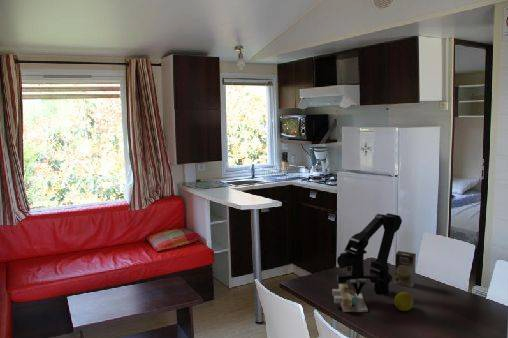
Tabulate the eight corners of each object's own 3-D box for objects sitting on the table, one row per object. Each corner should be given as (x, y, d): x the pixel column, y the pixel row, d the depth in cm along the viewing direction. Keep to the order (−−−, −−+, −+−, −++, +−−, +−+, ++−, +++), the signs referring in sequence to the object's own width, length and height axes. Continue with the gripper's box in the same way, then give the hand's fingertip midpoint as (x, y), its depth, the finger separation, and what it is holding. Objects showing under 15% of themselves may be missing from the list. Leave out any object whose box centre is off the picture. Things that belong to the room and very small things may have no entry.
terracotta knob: (352, 295, 215) (352, 286, 214) (354, 299, 211) (354, 289, 210) (332, 295, 216) (332, 285, 215) (333, 298, 211) (333, 289, 211)
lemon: (404, 316, 195) (405, 298, 194) (389, 310, 201) (389, 293, 200) (418, 309, 202) (418, 292, 201) (403, 303, 208) (403, 287, 207)
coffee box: (394, 284, 231) (394, 253, 229) (397, 280, 236) (398, 250, 234) (412, 287, 226) (413, 256, 224) (415, 283, 231) (416, 253, 229)
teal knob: (355, 302, 207) (355, 292, 206) (356, 306, 203) (356, 296, 202) (333, 302, 208) (333, 292, 207) (334, 306, 203) (334, 296, 203)
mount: (361, 295, 217) (361, 284, 217) (367, 311, 200) (367, 299, 199) (338, 295, 218) (338, 283, 218) (342, 311, 201) (342, 299, 200)
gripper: (374, 257, 218) (374, 288, 220) (335, 258, 219) (335, 288, 221) (378, 265, 207) (378, 297, 209) (338, 265, 208) (338, 298, 210)
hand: (357, 295), depth 212 cm, fingers closed
